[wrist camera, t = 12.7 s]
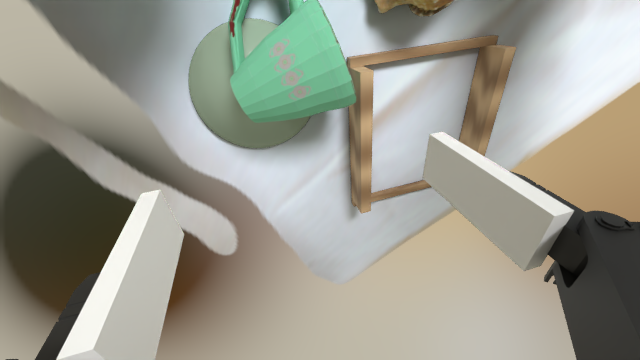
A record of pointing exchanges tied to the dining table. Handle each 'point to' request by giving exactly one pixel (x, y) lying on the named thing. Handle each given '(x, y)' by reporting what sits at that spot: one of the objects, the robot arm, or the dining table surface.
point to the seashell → (414, 6)
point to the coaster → (217, 95)
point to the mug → (290, 66)
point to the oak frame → (476, 120)
